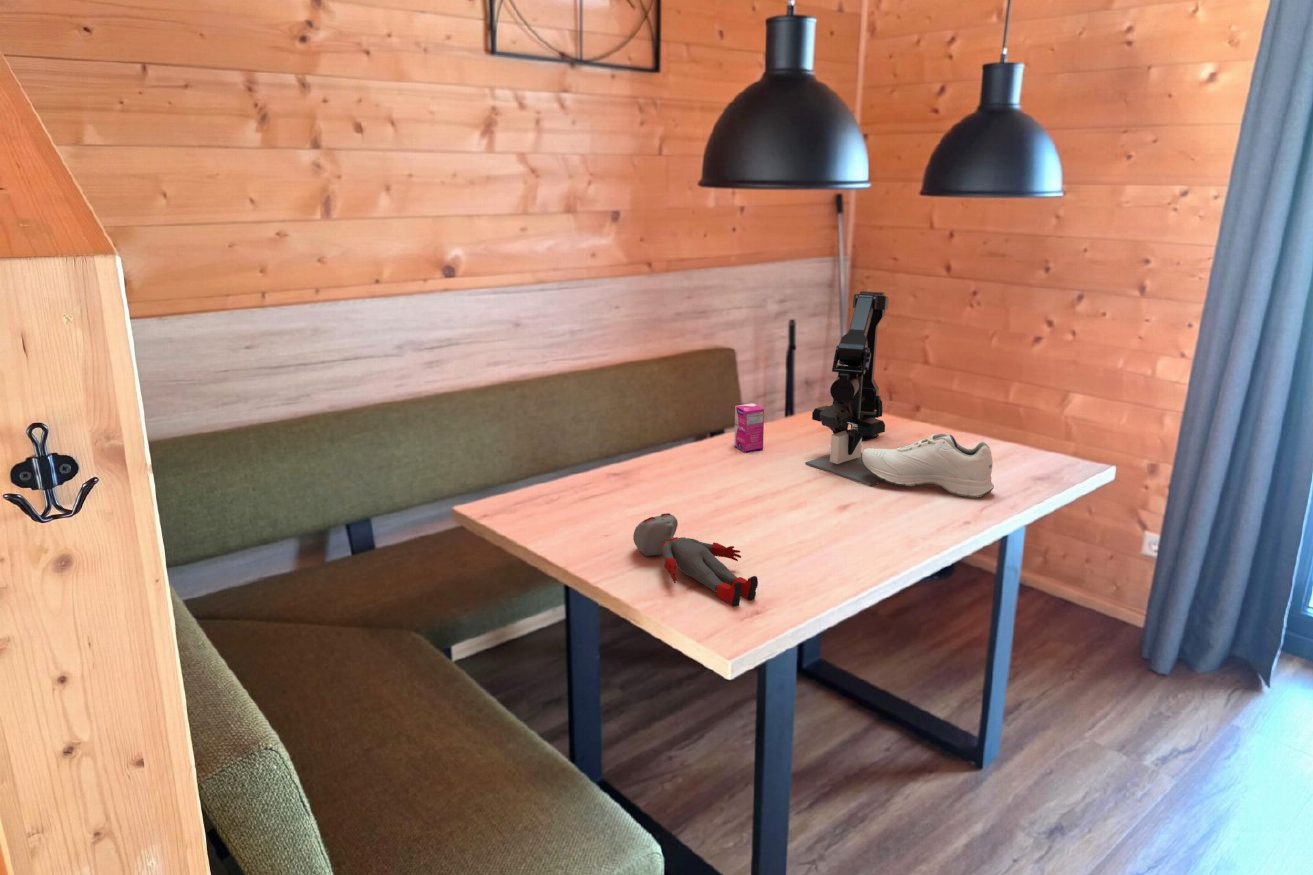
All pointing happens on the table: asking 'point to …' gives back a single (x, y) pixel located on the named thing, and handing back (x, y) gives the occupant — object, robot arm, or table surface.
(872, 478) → the charcoal mat
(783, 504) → the table surface
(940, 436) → the running shoe
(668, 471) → the table surface
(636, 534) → the toy
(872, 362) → the robot arm
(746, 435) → the supplement box
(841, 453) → the cream rectangular block
